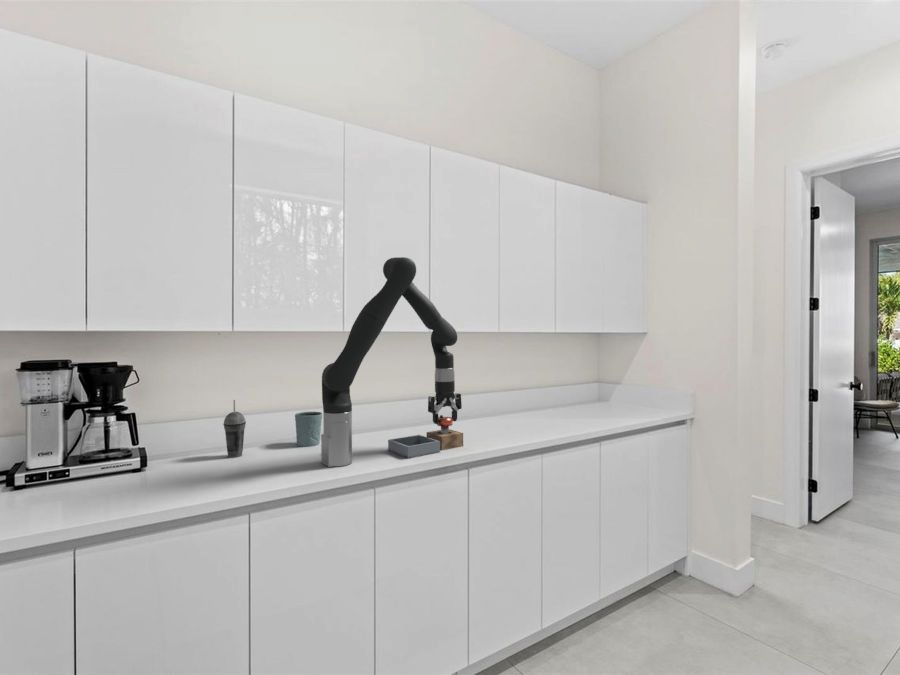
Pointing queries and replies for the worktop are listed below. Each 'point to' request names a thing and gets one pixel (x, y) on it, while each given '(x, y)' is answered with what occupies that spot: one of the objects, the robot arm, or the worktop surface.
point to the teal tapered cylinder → (308, 428)
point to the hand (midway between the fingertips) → (445, 422)
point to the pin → (445, 424)
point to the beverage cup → (234, 433)
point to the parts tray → (413, 446)
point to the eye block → (447, 439)
